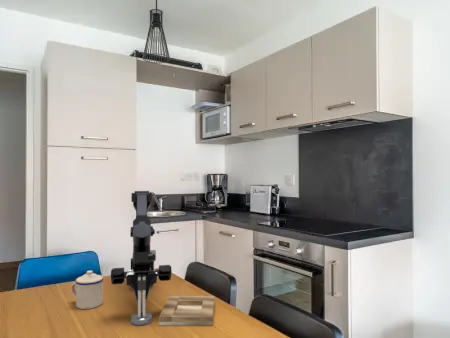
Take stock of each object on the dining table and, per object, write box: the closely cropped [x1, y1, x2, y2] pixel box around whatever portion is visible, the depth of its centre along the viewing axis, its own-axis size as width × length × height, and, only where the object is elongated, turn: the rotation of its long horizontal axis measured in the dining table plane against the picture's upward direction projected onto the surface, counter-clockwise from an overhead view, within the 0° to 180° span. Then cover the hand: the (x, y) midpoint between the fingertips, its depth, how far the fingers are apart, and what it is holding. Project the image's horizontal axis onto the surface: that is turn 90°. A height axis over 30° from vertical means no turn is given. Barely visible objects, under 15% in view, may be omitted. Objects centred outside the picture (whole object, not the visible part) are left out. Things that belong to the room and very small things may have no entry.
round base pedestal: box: [130, 274, 153, 327], centre depth 106 cm, size 6×6×14 cm
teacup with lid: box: [70, 270, 104, 310], centre depth 120 cm, size 12×9×12 cm
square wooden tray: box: [158, 295, 216, 327], centre depth 112 cm, size 18×16×2 cm
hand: (141, 299), depth 105 cm, fingers closed on round base pedestal, 2 cm apart
